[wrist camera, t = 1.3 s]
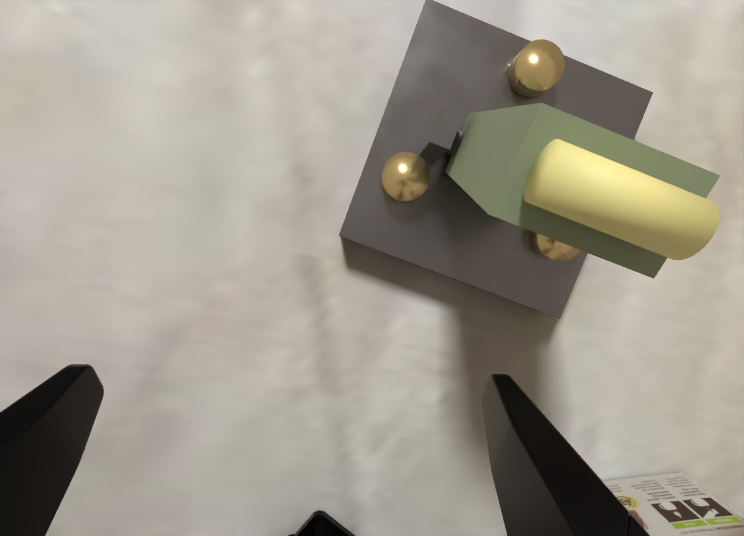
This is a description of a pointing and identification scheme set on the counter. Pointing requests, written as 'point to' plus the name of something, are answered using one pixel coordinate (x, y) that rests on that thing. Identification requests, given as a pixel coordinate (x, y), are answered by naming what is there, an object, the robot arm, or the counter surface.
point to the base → (430, 155)
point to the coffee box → (675, 506)
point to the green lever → (584, 186)
